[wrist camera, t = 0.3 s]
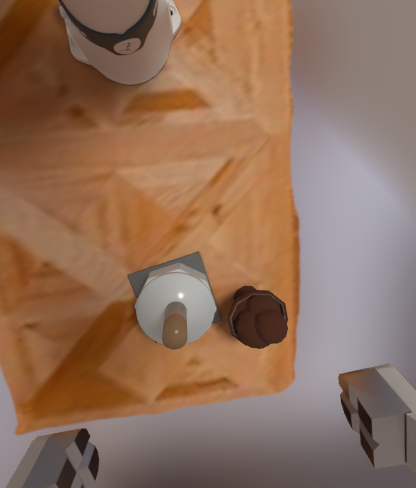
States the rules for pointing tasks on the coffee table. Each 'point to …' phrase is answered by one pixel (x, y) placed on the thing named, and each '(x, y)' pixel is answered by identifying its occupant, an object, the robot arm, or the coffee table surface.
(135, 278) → the mat
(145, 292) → the hexagonal peg stand
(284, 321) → the ice cream bowl
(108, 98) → the coffee table surface
